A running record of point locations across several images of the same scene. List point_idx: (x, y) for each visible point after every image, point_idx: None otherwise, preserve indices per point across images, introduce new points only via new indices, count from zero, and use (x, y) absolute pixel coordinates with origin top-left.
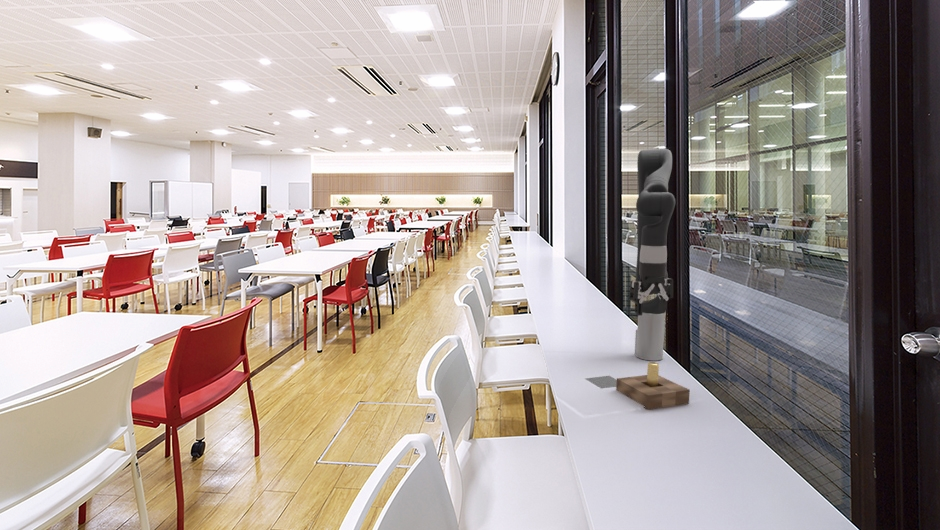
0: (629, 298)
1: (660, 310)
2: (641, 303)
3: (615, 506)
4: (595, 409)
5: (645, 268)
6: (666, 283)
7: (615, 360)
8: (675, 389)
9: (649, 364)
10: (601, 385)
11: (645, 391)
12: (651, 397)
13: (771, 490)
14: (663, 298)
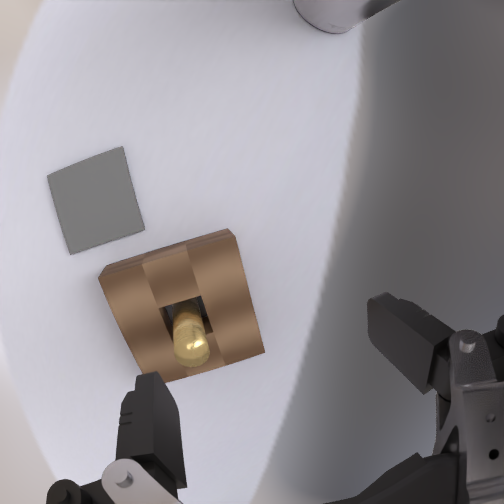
0: (52, 500)
1: (375, 316)
2: (175, 485)
3: None
4: (51, 355)
5: None
6: None
7: (216, 4)
8: (231, 353)
9: (176, 359)
10: (75, 233)
11: (150, 366)
12: None
13: (221, 494)
14: (444, 391)
